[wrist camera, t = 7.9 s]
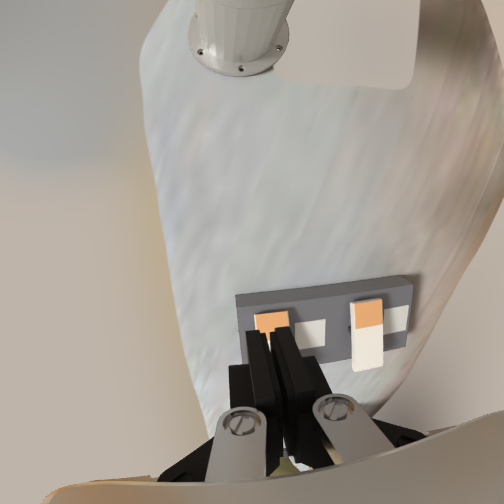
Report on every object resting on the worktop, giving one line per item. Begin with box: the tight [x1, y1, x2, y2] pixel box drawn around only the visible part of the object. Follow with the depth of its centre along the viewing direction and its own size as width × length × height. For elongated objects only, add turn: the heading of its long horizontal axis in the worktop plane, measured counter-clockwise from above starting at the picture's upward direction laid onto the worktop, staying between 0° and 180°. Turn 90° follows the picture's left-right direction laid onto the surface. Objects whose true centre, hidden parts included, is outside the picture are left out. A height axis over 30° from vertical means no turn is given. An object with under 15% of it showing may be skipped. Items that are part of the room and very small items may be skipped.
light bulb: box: [271, 451, 300, 476], centre depth 46 cm, size 6×6×10 cm
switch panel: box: [235, 275, 414, 364], centre depth 42 cm, size 10×24×6 cm, turn 94°
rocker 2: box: [350, 298, 383, 372], centre depth 38 cm, size 9×4×1 cm, turn 4°
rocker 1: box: [254, 311, 290, 352], centre depth 37 cm, size 9×4×1 cm, turn 4°
